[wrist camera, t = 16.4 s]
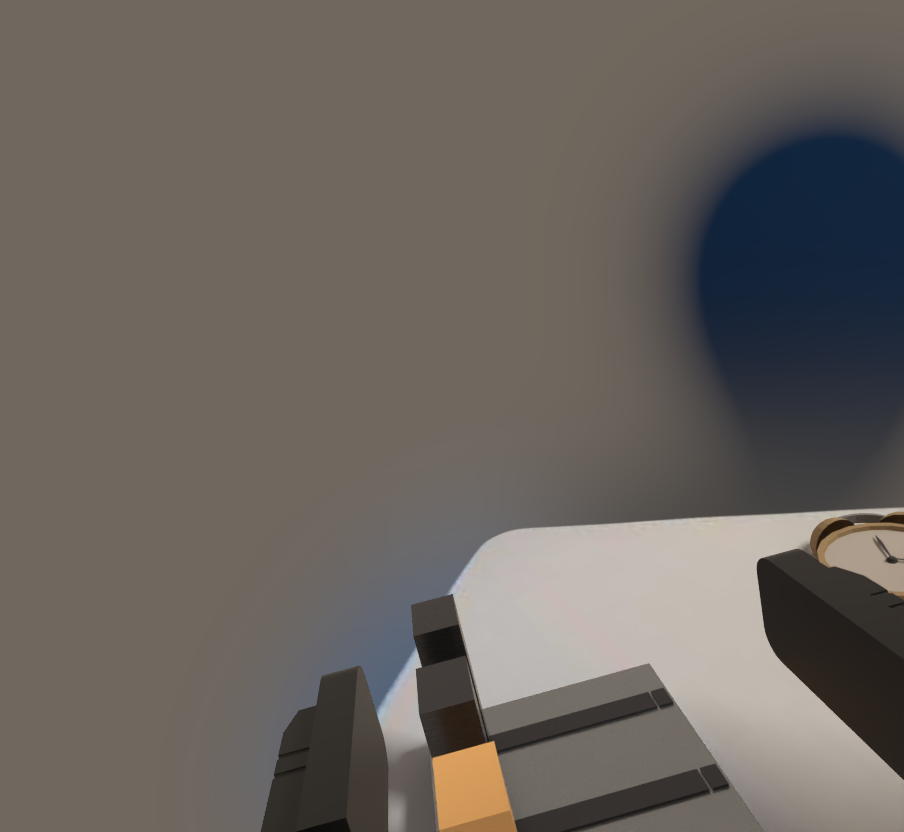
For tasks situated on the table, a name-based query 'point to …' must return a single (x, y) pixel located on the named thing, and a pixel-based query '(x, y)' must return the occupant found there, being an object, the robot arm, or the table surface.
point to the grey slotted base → (576, 744)
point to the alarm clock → (864, 547)
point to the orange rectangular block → (472, 791)
